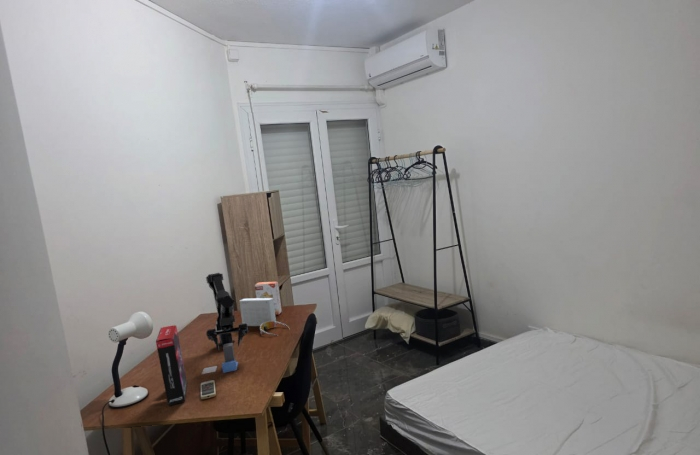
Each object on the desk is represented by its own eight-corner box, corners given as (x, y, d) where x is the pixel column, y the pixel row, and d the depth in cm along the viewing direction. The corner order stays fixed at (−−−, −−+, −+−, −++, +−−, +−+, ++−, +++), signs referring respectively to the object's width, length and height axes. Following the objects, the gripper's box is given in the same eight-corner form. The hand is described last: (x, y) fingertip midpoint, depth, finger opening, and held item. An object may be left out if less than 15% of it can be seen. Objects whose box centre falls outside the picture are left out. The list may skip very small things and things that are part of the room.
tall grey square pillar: (226, 368, 185) (222, 347, 183) (226, 364, 188) (223, 344, 187) (235, 366, 185) (231, 345, 184) (235, 363, 189) (232, 342, 188)
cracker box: (258, 316, 261) (254, 284, 258) (262, 313, 267) (257, 282, 264) (279, 314, 258) (274, 283, 256) (282, 311, 264) (278, 280, 262)
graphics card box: (185, 402, 159) (174, 336, 156) (166, 407, 157) (155, 340, 154) (187, 384, 175) (177, 323, 172) (170, 388, 173) (159, 327, 170)
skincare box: (277, 323, 243) (273, 297, 241) (272, 326, 238) (268, 300, 236) (247, 322, 250) (243, 298, 248) (242, 326, 245) (238, 300, 243)
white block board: (195, 380, 178) (194, 370, 177) (200, 368, 190) (198, 358, 190) (242, 371, 182) (240, 361, 181) (243, 359, 194) (241, 350, 194)
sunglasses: (272, 325, 239) (272, 318, 238) (292, 331, 232) (292, 323, 231) (255, 335, 227) (255, 326, 226) (276, 341, 220) (275, 332, 219)
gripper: (203, 313, 189) (204, 344, 180) (244, 306, 193) (247, 337, 184) (208, 324, 198) (209, 354, 188) (247, 317, 202) (249, 347, 192)
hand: (228, 348), depth 188 cm, fingers open, 9 cm apart
